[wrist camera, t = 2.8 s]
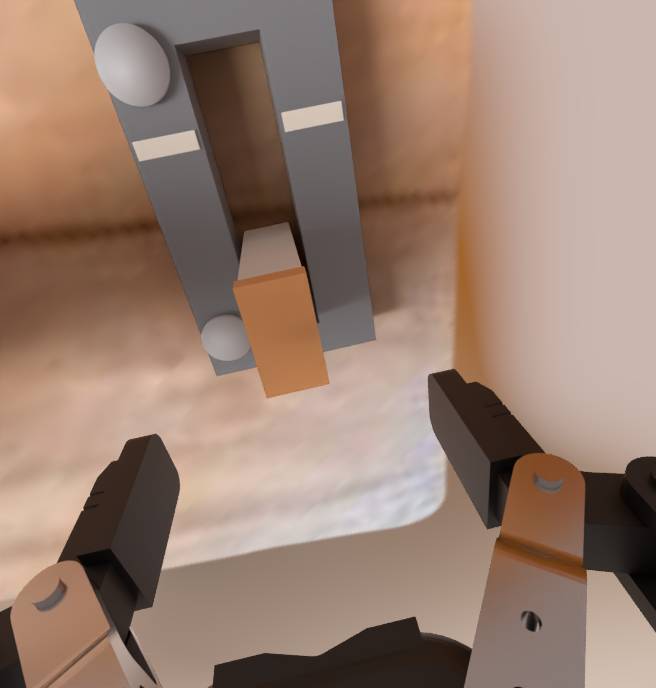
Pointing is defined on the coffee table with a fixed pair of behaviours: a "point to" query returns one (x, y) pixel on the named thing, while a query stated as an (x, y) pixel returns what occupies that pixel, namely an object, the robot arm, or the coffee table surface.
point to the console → (200, 165)
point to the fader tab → (279, 312)
